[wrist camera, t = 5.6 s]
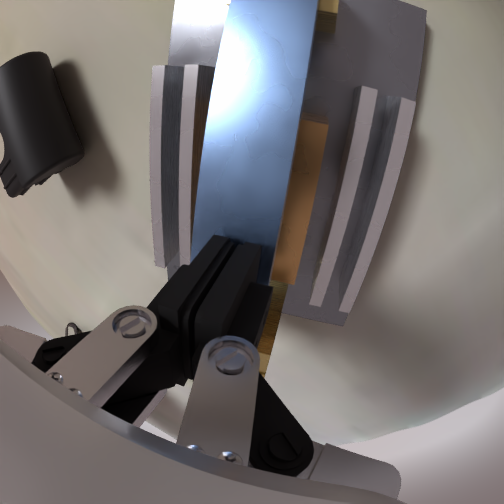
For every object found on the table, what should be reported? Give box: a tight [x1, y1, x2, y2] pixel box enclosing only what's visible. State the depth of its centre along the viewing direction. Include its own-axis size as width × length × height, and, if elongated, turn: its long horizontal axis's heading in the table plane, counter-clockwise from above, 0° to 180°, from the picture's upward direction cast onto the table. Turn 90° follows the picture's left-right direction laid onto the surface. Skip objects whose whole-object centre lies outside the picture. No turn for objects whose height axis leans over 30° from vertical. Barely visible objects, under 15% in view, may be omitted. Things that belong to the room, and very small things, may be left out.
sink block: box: [150, 0, 427, 377], centre depth 13 cm, size 22×14×9 cm, turn 174°
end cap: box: [0, 52, 84, 198], centre depth 16 cm, size 10×7×7 cm
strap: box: [190, 0, 319, 286], centre depth 9 cm, size 16×3×1 cm, turn 174°
